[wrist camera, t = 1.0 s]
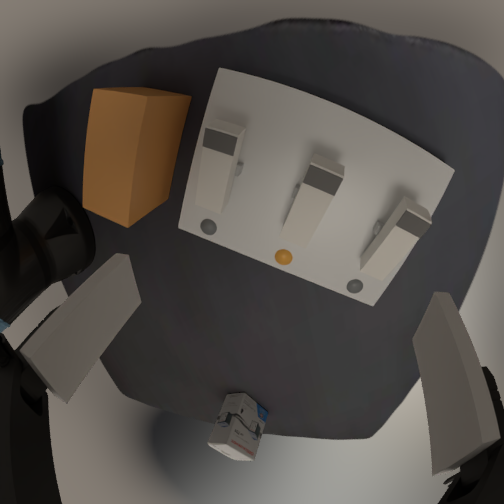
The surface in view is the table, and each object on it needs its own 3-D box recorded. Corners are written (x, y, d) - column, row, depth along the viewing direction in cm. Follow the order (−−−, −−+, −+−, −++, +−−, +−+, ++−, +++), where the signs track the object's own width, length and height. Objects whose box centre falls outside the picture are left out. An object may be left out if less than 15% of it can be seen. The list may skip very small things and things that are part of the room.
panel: (187, 218, 31) (173, 232, 28) (228, 70, 22) (214, 65, 19) (370, 292, 30) (373, 312, 27) (444, 164, 21) (459, 173, 18)
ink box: (269, 412, 49) (256, 461, 39) (249, 414, 51) (235, 460, 41) (244, 391, 46) (226, 444, 37) (224, 394, 49) (205, 444, 39)
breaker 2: (283, 225, 26) (278, 238, 24) (313, 152, 20) (310, 162, 18) (308, 235, 26) (305, 249, 24) (344, 166, 20) (344, 177, 18)
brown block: (126, 183, 31) (82, 207, 24) (143, 87, 24) (93, 88, 17) (168, 198, 30) (128, 228, 24) (191, 96, 24) (147, 96, 17)
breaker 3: (360, 257, 25) (359, 272, 24) (404, 196, 20) (407, 209, 18) (381, 267, 25) (382, 282, 24) (427, 209, 19) (432, 223, 18)
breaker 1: (203, 194, 26) (194, 205, 25) (216, 118, 20) (205, 126, 19) (227, 203, 26) (219, 215, 25) (246, 127, 20) (237, 135, 19)
